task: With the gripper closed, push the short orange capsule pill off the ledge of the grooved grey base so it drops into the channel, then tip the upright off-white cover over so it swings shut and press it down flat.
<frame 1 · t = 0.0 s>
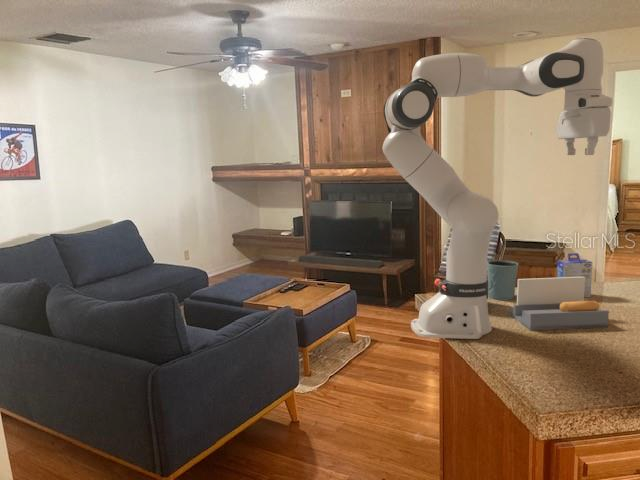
hand: (579, 155, 138), 48 cm above the worktop, tool pointing down, fingers open, 8 cm apart
grooved grey base: (555, 319, 150), on the worktop
cover: (550, 290, 152), point 8 cm above the worktop, hinge at 88.5°
ink cartridge box: (573, 296, 174), on the worktop
orange capsule pill: (579, 306, 144), point 5 cm above the worktop, touching grooved grey base
teal cup: (501, 297, 176), on the worktop
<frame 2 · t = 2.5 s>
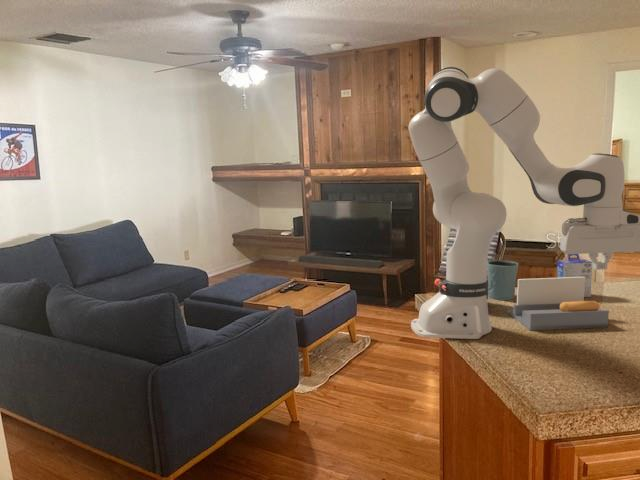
hand: (599, 269, 133), 18 cm above the worktop, tool pointing down, fingers closed
cover: (550, 290, 152), point 8 cm above the worktop, hinge at 88.1°
everything else where it was.
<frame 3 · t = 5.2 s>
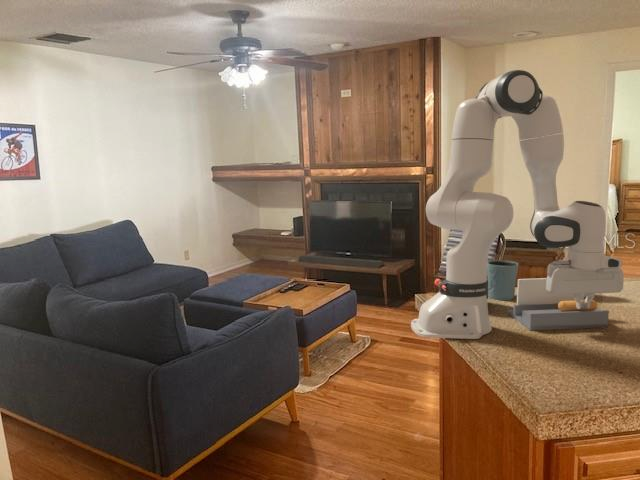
hand: (582, 308, 142), 6 cm above the worktop, tool pointing down, fingers closed
orange capsule pill: (577, 305, 145), point 5 cm above the worktop, tilted 33°, touching grooved grey base
everything else where it was.
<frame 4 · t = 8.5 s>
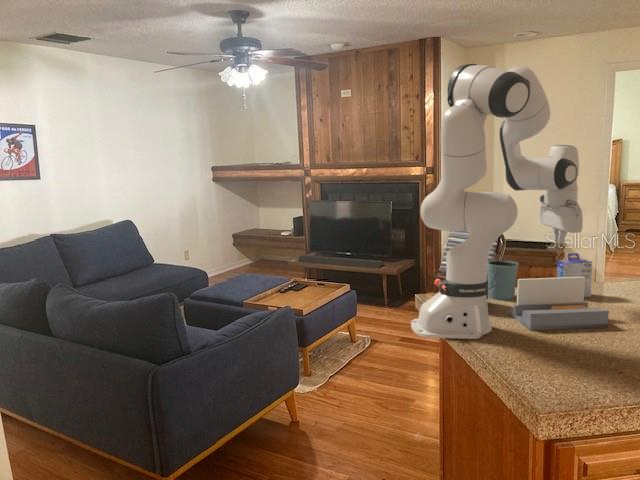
hand: (559, 242, 158), 21 cm above the worktop, tool pointing down, fingers closed
orange capsule pill: (568, 310, 150), point 2 cm above the worktop, tilted 117°, touching grooved grey base
everything else where it was.
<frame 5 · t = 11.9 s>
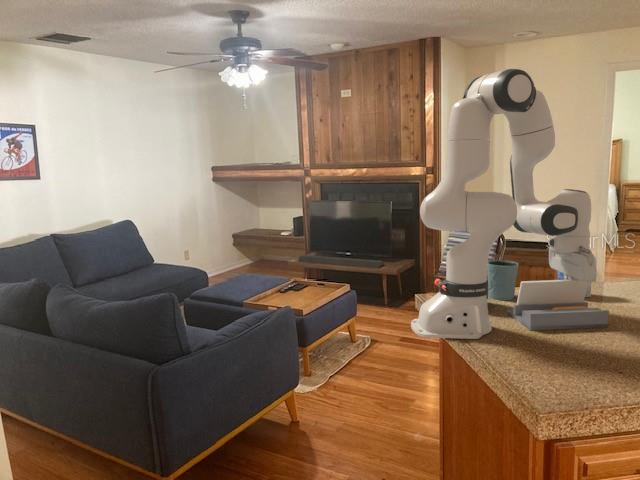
hand: (570, 289, 152), 8 cm above the worktop, tool pointing down, fingers closed, pressing on cover
cover: (552, 291, 151), point 8 cm above the worktop, hinge at 71.4°, touching gripper
orange capsule pill: (570, 311, 149), point 2 cm above the worktop, tilted 150°, touching grooved grey base
everything else where it was.
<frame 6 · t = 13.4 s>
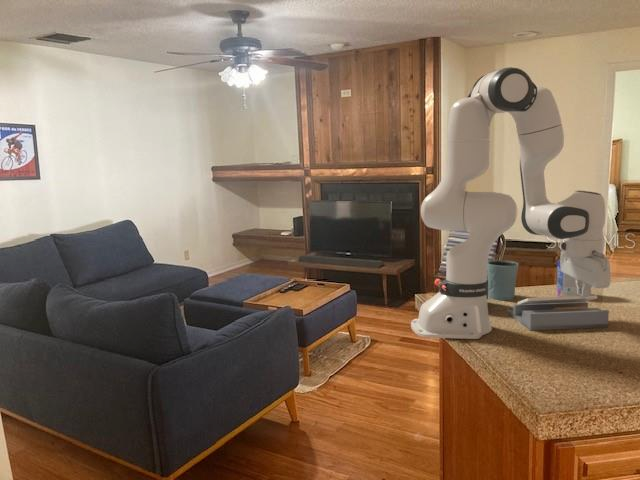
hand: (582, 295, 146), 8 cm above the worktop, tool pointing down, fingers closed
cover: (556, 300, 149), point 6 cm above the worktop, hinge at 24.6°
orange capsule pill: (570, 312, 149), point 2 cm above the worktop, tilted 164°, touching grooved grey base
everything else where it was.
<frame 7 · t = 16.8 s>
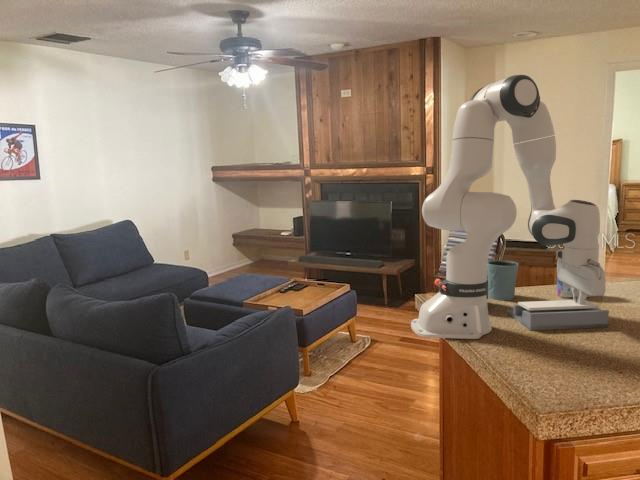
hand: (579, 302, 148), 5 cm above the worktop, tool pointing down, fingers closed
cover: (557, 304, 148), point 5 cm above the worktop, hinge at 4.0°, touching gripper
everything else where it was.
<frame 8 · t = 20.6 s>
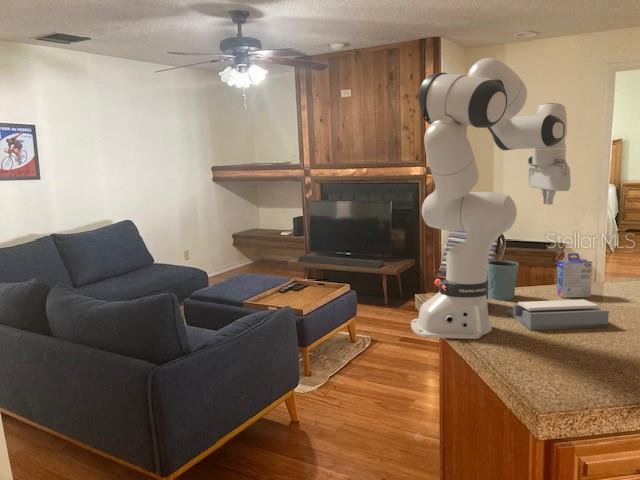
hand: (547, 204, 156), 33 cm above the worktop, tool pointing down, fingers closed
cover: (557, 304, 148), point 5 cm above the worktop, hinge at 3.9°
orange capsule pill: (570, 311, 149), point 2 cm above the worktop, tilted 154°, touching grooved grey base
everything else where it was.
at the end: cover at +4° (first picture: +88°); orange capsule pill inside the target area on the grooved grey base (4.0 cm from its centre), point 2.5 cm above the grooved grey base's base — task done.
